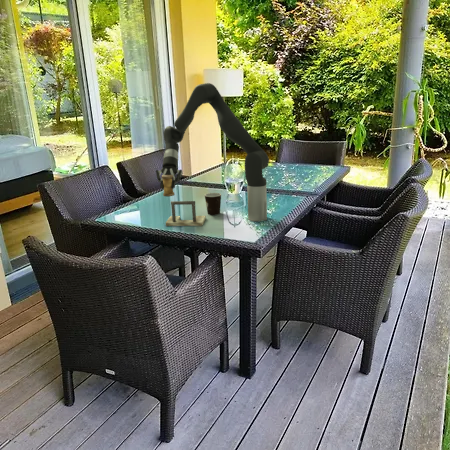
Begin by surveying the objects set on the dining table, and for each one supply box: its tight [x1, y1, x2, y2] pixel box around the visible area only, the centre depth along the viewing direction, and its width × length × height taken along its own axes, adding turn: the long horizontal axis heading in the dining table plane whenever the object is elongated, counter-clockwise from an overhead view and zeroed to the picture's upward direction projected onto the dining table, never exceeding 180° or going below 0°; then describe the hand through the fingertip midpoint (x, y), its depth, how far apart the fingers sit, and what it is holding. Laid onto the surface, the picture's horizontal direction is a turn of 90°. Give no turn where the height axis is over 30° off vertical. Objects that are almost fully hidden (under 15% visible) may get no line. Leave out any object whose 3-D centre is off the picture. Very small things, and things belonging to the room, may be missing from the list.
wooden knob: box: [161, 174, 175, 198], centre depth 221 cm, size 6×6×10 cm
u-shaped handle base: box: [165, 200, 207, 227], centre depth 216 cm, size 18×11×12 cm, turn 84°
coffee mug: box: [204, 192, 222, 216], centre depth 227 cm, size 12×9×10 cm
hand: (167, 188), depth 220 cm, fingers closed on wooden knob, 4 cm apart
